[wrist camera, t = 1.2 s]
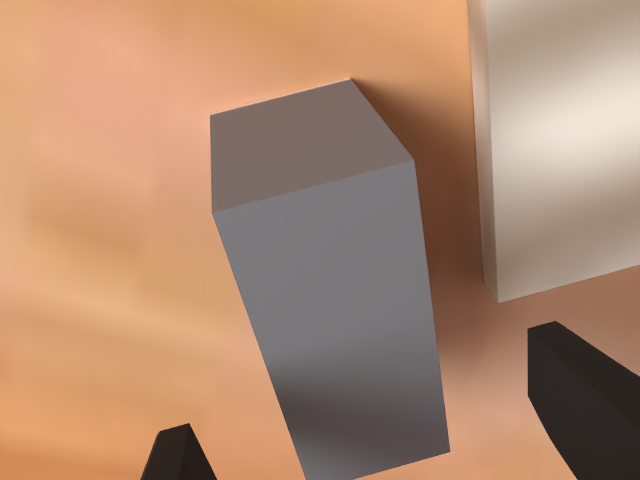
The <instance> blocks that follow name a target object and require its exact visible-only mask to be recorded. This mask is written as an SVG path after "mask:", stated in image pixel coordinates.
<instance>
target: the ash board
mask: <svg viewBox="0 0 640 480" xmlns="http://www.w3.org/2000/svg"><path fill="white" fill-rule="evenodd" d="M468 14H469V32H470V49H471V67H472V85H473V102H474V120H475V138H476V155H477V173H478V190H479V208H480V226H481V243H482V261H483V278H484V284H485V286H486V287H487V289H488V290H489V291H490V293H491V294H492V296H493V297H494V298H495V300H496V301H497V303H502V302H505V301H509V300H513V299H516V298H520V297H524V296H527V295H531V294H535V293H538V292H542V291H546V290H549V289H553V288H557V287H560V286H564V285H568V284H571V283H575V282H578V281H582V280H586V279H589V278H593V277H597V276H600V275H604V274H608V273H611V272H615V271H619V270H622V269H626V268H630V267H633V266H637V265H640V0H468Z"/></svg>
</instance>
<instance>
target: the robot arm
mask: <svg viewBox="0 0 640 480" xmlns="http://www.w3.org/2000/svg"><path fill="white" fill-rule="evenodd" d="M528 397H529V399H530V401H531V403H532V405H533V407H534V409H535V411H536V413H537V415H538V417H539V419H540V421H541V422H542V424H543V426H544V428H545V430H546V432H547V434H548V436H549V437H550V439H551V441H552V442H553V444H554V445H555V447H556V449H557V450H558V452H559V453H560V455H561V456H562V458H563V459H564V460H565V462H566V463H567V465H568V466H569V468H570V469H571V471H572V472H573V474H574V475H575V477H576V478H577V480H640V377H639V376H638V375H636V374H635V373H633V372H631V371H630V370H628V369H627V368H625V367H624V366H622V365H621V364H619V363H618V362H616V361H615V360H613V359H612V358H610V357H609V356H607V355H606V354H604V353H603V352H601V351H600V350H598V349H597V348H595V347H594V346H592V345H591V344H589V343H588V342H586V341H585V340H583V339H582V338H581V337H579V336H578V335H576V334H575V333H573V332H572V331H570V330H569V329H567V328H566V327H564V326H563V325H561V324H560V323H558V322H557V321H553V322H550V323H546V324H543V325H539V326H535V327H532V328H528ZM140 480H217V478H216V476H215V474H214V472H213V470H212V468H211V466H210V464H209V462H208V460H207V458H206V456H205V454H204V452H203V450H202V448H201V446H200V444H199V442H198V440H197V438H196V436H195V434H194V432H193V430H192V428H191V426H190V424H189V423H188V424H184V425H180V426H177V427H173V428H170V429H166V430H163V431H160V432H159V433H158V435H157V436H156V439H155V442H154V445H153V447H152V450H151V453H150V456H149V458H148V461H147V464H146V466H145V469H144V472H143V474H142V477H141V479H140Z"/></svg>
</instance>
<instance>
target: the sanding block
mask: <svg viewBox="0 0 640 480" xmlns="http://www.w3.org/2000/svg"><path fill="white" fill-rule="evenodd" d="M210 135H211V187H212V214H213V217H214V220H215V223H216V226H217V229H218V231H219V234H220V237H221V240H222V243H223V246H224V248H225V251H226V254H227V257H228V260H229V263H230V265H231V268H232V271H233V274H234V277H235V280H236V282H237V285H238V288H239V291H240V294H241V297H242V299H243V302H244V305H245V308H246V311H247V314H248V316H249V319H250V322H251V325H252V328H253V331H254V333H255V336H256V339H257V342H258V345H259V348H260V350H261V353H262V356H263V359H264V362H265V365H266V367H267V370H268V373H269V376H270V379H271V382H272V384H273V387H274V390H275V393H276V396H277V399H278V401H279V404H280V407H281V410H282V413H283V416H284V418H285V421H286V424H287V427H288V430H289V433H290V435H291V438H292V441H293V444H294V447H295V450H296V452H297V455H298V458H299V461H300V464H301V467H302V469H303V472H304V475H305V478H306V480H353V479H356V478H360V477H363V476H367V475H370V474H374V473H377V472H381V471H384V470H388V469H392V468H395V467H399V466H402V465H406V464H409V463H413V462H416V461H420V460H423V459H427V458H430V457H434V456H438V455H441V454H445V453H448V452H450V446H449V438H448V430H447V422H446V413H445V405H444V397H443V389H442V381H441V373H440V365H439V356H438V348H437V340H436V332H435V324H434V316H433V308H432V299H431V291H430V283H429V275H428V267H427V259H426V251H425V242H424V234H423V226H422V218H421V210H420V202H419V194H418V185H417V177H416V169H415V161H414V159H413V158H412V156H411V155H410V154H409V152H408V151H407V150H406V149H405V147H404V146H403V145H402V144H401V142H400V141H399V140H398V138H397V137H396V136H395V135H394V133H393V132H392V131H391V129H390V128H389V127H388V126H387V124H386V123H385V122H384V121H383V119H382V118H381V117H380V115H379V114H378V113H377V112H376V110H375V109H374V108H373V106H372V105H371V104H370V103H369V101H368V100H367V99H366V98H365V96H364V95H363V94H362V92H361V91H360V90H359V89H358V87H357V86H356V85H355V84H354V82H353V81H352V80H351V78H350V77H349V78H345V79H341V80H337V81H333V82H329V83H325V84H322V85H318V86H314V87H310V88H306V89H302V90H298V91H294V92H290V93H286V94H282V95H279V96H275V97H271V98H267V99H263V100H259V101H255V102H251V103H247V104H243V105H239V106H236V107H232V108H228V109H224V110H220V111H216V112H212V113H210Z"/></svg>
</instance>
